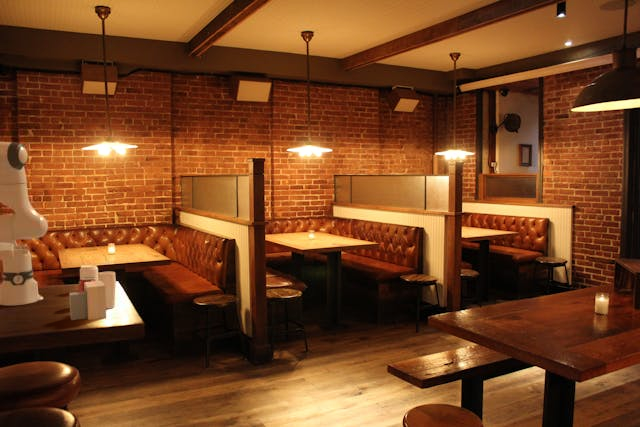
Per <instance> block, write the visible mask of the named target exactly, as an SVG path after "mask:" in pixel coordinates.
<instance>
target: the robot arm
mask: <svg viewBox="0 0 640 427" xmlns="http://www.w3.org/2000/svg"><path fill="white" fill-rule="evenodd" d="M28 160H29V152H28V149H27V148H26V146H25V145H24V144H22V143H20V142H14V141H13V142H10V141H9V142H7V141H0V203H1V204H2V205H4V206H6V207H8V208H10V209H12V211H13V212H14V214H0V260H1V261H2V269H3V270H2V275H1V277H2V282H1V283H0V306H20V305H28V304H32V303H36V302H38V301H43V300H44V297H43V296H42V295H40V294H39V288H38V285H39V284H38V281H36V280H35V279H34V270H33V265H32V254H31V251H30V250H29V249H28V246H27V245H19V243H17V240H32V239H39V238H42V237H44V236H45V235H46V234H47V232H48V228H49V223H48V221H47V219H46V218H45V217H44V216H43V215H41V214H40V213H38V212H37V211H36V210H35V209H34V207H33V205H32V204H31V202H30V198H29V192H28V183H27V182H28V181H27V174H26V170H25V166H26V164H27V163H28Z"/></svg>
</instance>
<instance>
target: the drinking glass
mask: <svg viewBox="0 0 640 427" xmlns="http://www.w3.org/2000/svg"><path fill="white" fill-rule="evenodd" d="M116 277H117V276H116V272H115V271H102V272H98V281H102V282H103V284H104V285H105V298H106V310H109V309H113V308H115V306H116V302H115V300H116V286H117V285H116V283H117V281H116V280H117V279H116Z"/></svg>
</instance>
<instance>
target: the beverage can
mask: <svg viewBox="0 0 640 427" xmlns="http://www.w3.org/2000/svg"><path fill="white" fill-rule="evenodd" d="M98 274H99V268H98V266H97V264H84V265H81V266H80V268H79V279H80V278H84V277H94V279H95V281H99V280H98Z"/></svg>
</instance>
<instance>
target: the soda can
mask: <svg viewBox="0 0 640 427" xmlns="http://www.w3.org/2000/svg"><path fill="white" fill-rule="evenodd" d="M92 281H95V279H94V277H84V278H80V277H79V281H78V292H83V291H85V290H84V282H92Z"/></svg>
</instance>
